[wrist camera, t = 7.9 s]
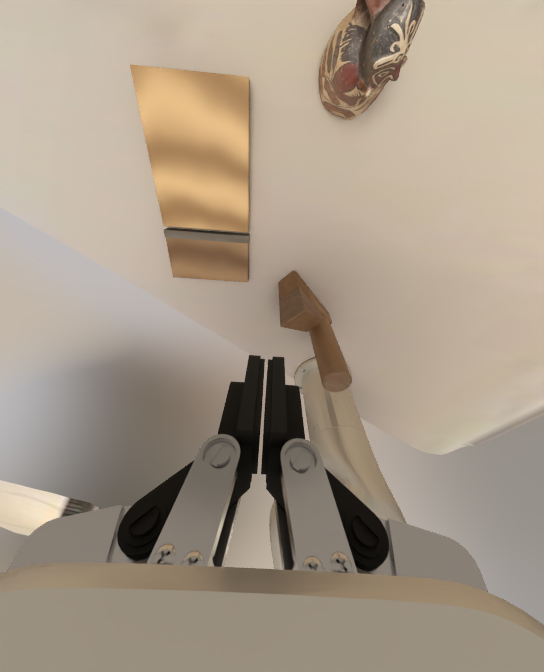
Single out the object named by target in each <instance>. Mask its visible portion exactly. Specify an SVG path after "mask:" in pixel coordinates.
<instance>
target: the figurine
mask: <svg viewBox="0 0 544 672" xmlns="http://www.w3.org/2000/svg"><path fill="white" fill-rule="evenodd" d="M424 9H425V3H424V1H423V0H357V3H356V7H355V8H354V9H353V10H352V11H351V12H350V13H349V14H348V15H347V16H346V17H345V18H344V19H343V21H342V22H341V23H340V24H339V26H338V27H337V29H336V30H335V32H334V34H333V35H332V37H331V38H330V40H329V42H328V44H327V47H326V49H325V51H324V54H323V56H322V61H321V66H320V70H319V86H320V95H321V99H322V102H323V105H324V106H325V108H326V109H327V110H328V111H330V112H332V113H333V114H335V115H338V116H342V117H344V119H348V120H351V119H353V118H354V117H356V116H357V115H359V114H361V113H363V112H364V111H366V110H367V108H368V107H369V106H370V105H371V104H372V102H373V101H374V100H375V99H376V98H377V96H378V95H379V93H380V92H381V91H382V89H383V87H384V85H385V84H386V83H387V82H388V81H389V80H391V81H396V80H397V79H398V77H399V72H400V68H401V67H402V66H403V65H404V64H405V62H406V60H407V56H405V55H406V53H407V52H408V49H409V47H410V45H411V42H412V40H413V38H414V35H415V33H416V31H417V28H418V26H419V24H420V21H421V18H422V16H423V13H424Z"/></svg>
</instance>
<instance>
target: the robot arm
mask: <svg viewBox="0 0 544 672" xmlns="http://www.w3.org/2000/svg"><path fill="white" fill-rule="evenodd" d="M264 362H265V359H260V356H253V355H249V360H248V365H247V371H246V377H245V382H231V383H230V386H229V390H228V394H227V398H226V403H225V407H224V411H223V415H222V419H221V423H220V427H219V431H218V435H214V436H212V437H210V438H208V439H207V440H206V441H205V442H204V443H203V445H202V446H201V448H200V449H199V451H198V454H197V456H196V458H195V460H194V461H192V462H191V463H190V464H188V465H187V466H185V467H184V468H183V469H181V470H180V471H179V472H177V473H176V474H174V475H173V476H172V477H170V478H169V479H168V480H166V481H165V482H163V483H162V484H161V485H159V486H158V487H157V488H155V489H154V490H152V491H151V492H150V493H148V494H147V495H145V496H144V497H143V498H141V499H140V500H139V501H137V502H136V503H135V504H134V505H131V506H127V507H123V505H119V506H114V507H109V508H105V509H100V510H95V511H90V512H85V513H80V514H76V515H71V516H66V517H61V518H57V519H54V520H51V521H49V522H46V523H45V524H43V525H42V526H40V527H39V528H37V529H36V530H35V531H34V532H33V533H32V534H31V535H30V536H29V537H28V538H27V539H26V540H25V541H24V543H23V544H22V545H21V547H20V548H19V550H18V551H17V553H16V555H15V557H14V559H13V561H12V563H11V565H10V566H9V568H8V570H7V571H6V572H3V573H0V672H544V625H543V624H542V623H541V622H539V621H538V620H536V619H535V618H533V617H532V616H530V615H529V614H528V613H526V612H525V611H523V610H521V609H519V608H518V607H516V606H514V605H513V604H511V603H509V602H507V601H506V600H504V599H501V598H499V597H497V596H494V595H493V594H490V593H488V591H487V588H486V586H485V583H484V580H483V577H482V575H481V572H480V570H479V568H478V566H477V564H476V562H475V560H474V559H473V558H472V556H471V555H470V554H469V553H468V551H467V550H466V549H465V548H464V547H463V546H461V545H460V544H459V543H458V542H456V541H454V540H452V539H450V538H448V537H445V536H442V535H439V534H436V533H433V532H430V531H427V530H423V529H420V528H417V527H414V526H411V525H408V524H407V523H406V521H405V518H404V516H403V514H402V512H401V510H400V508H399V507H398V505H397V503H396V501H395V499H394V497H393V495H392V493H391V491H390V489H389V487H388V486H387V484H386V482H385V479H384V477H383V475H382V473H381V471H380V469H379V467H378V464H377V462H376V459H375V457H374V454H373V452H372V449H371V447H370V444H369V441H368V439H367V436H366V433H365V430H364V428H363V425H362V422H361V420H360V417H359V414H358V411H357V409H356V406H355V403H354V401H353V398H352V395H351V392H350V390H349V387H348V388H347V389H345V390H344V391H341V392H330V391H327V390H326V389H325V388H324V387H323V385H322V382H321V378H320V374H319V369H318V365H317V361H316V358H313V359H310V360H308V361H306V362H305V363H303V364H302V365H301V366H300V367H299V368H298V369H297V371H296V373H295V379H294V380H295V385H296V386H293V385H285V367H284V357H273V360H269V359H268V371H267V385H266V399H265V417H264V434H263V451H262V452H263V453H262V470H261V474H266V483H267V487H266V489H267V490H268V491H269V492H270V494H271V495H272V496H273V497H274V503H273V505H272V508H271V512H270V523H269V526H270V542H271V549H272V557H273V563H274V569H255V568H234V567H224V563H225V560H226V556H227V552H228V547H229V544H230V540H231V536H232V532H233V528H234V524H235V520H236V516H237V512H238V508H239V504H240V500H241V496H242V495H243V494H244V493H245V492H246V491H247V490H248V489H249V488H250V482H251V478H252V474H257V467H258V453H259V438H260V425H261V411H262V396H263V379H264ZM346 365H347V364H346ZM347 367H348V365H347ZM348 370H349V372H350V375H351V371H350V369H349V367H348ZM300 392H301V393H302V394H303V395H304V402H305V409H306V416H307V423H308V430H309V437H310V442H309V441H308V440H305V434H304V426H303V417H302V408H301V399H300Z"/></svg>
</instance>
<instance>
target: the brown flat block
mask: <svg viewBox="0 0 544 672" xmlns="http://www.w3.org/2000/svg"><path fill="white" fill-rule="evenodd" d="M164 234H165V237H166V241H167V246H168V252H169V257H170V262H171V268H172V273H173V277H181V278H195V279H210V280H224V281H239V282H248V279H249V234H244V233H231V232H218V231H205V230H192V229H179V228H167V229H165V230H164Z"/></svg>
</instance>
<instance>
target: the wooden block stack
mask: <svg viewBox="0 0 544 672" xmlns="http://www.w3.org/2000/svg"><path fill="white" fill-rule="evenodd" d="M279 300H280V301H279V304H280V323H281V327H285V328H290V329H295V330H300V331H305V332H307V331H309V332H310V336H311V340H312V345H313V349H314V353H315V357H316V361H317V365H318V369H319V374H320V378H321V382H322V385H323V387H324V388H325V389H326V390H327V391H330V392H341V391H344V390H345V389H347V388H348V387H349V386H350V384H351V382H352V377H351V375H350V372H349V370H348V367H347V365H346V362H345V360H344V357H343V355H342V352H341V350H340V347H339V345H338V342H337V340H336V337H335V335H334V332H333V330H332V327H331V325H330V324H331V323H332V320H331V318H330V316H329V313H328V312H327V311H326V309H325V308H324V307H323V305H322V304H321V303H320V302H319V300H318V299H317V298H316V296H315V295H314V294H313V293H312V291H311V290H310V289H309V287H307V286H306V284H305V282H304V281H303V280H302V278H301V277H300V276H299V275H298V273H297V272H296V271H292V272H291V273H290V274H289V275H287V276H286V277H285V278H283V279H282V280H281V281H280V282H279Z"/></svg>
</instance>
